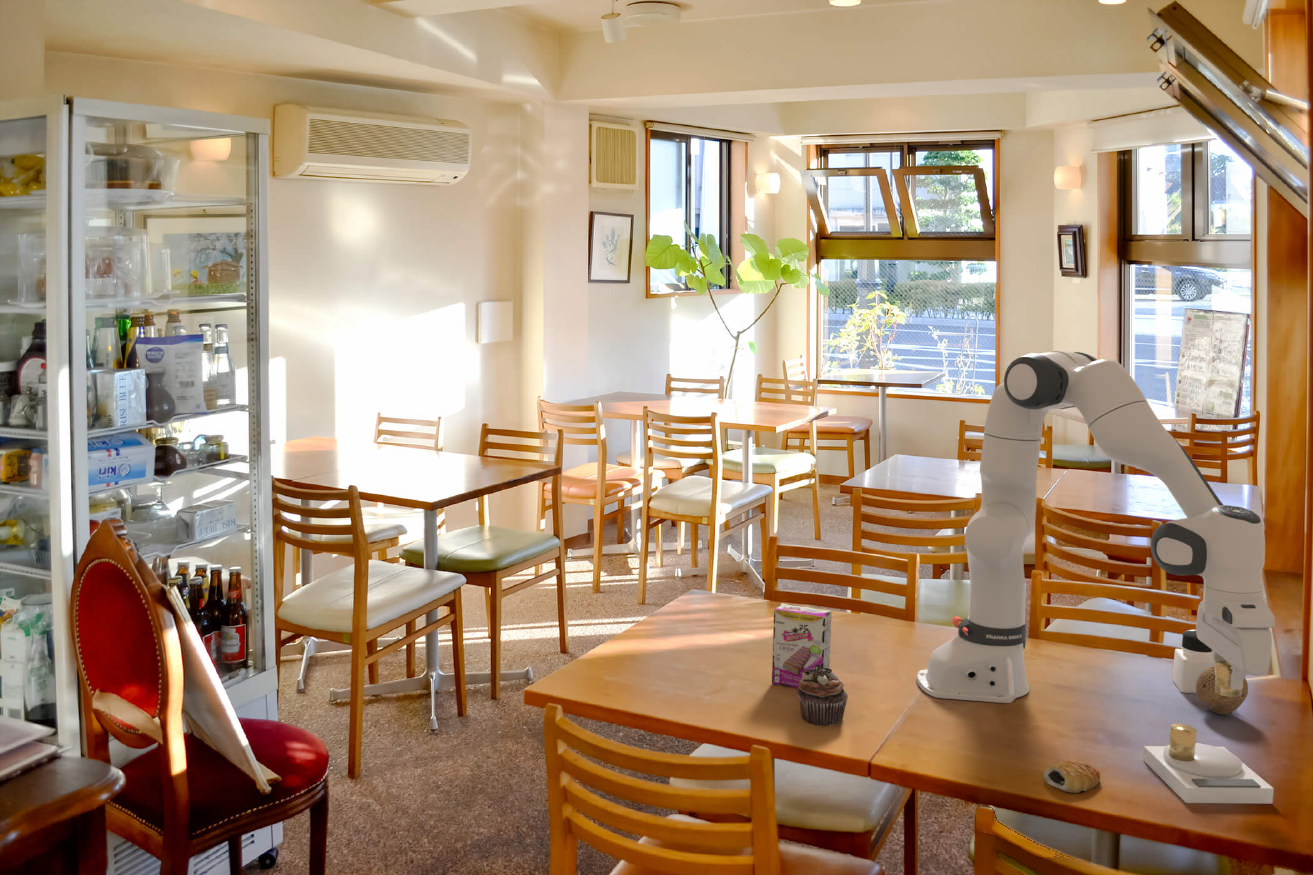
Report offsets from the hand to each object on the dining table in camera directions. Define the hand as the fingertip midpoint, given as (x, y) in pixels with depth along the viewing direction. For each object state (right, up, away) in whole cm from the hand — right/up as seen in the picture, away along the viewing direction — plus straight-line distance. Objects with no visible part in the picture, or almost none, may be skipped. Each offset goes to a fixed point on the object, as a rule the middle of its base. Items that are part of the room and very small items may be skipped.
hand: (1228, 682), depth 187 cm
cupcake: (-65, -13, +25) cm, 71 cm away
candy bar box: (-67, -10, +42) cm, 80 cm away
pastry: (-27, -17, -1) cm, 32 cm away
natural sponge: (+13, -13, +28) cm, 34 cm away
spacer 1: (-8, -13, +1) cm, 15 cm away
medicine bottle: (+15, -11, +42) cm, 46 cm away
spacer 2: (0, -2, 0) cm, 2 cm away
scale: (-4, -17, 0) cm, 17 cm away
